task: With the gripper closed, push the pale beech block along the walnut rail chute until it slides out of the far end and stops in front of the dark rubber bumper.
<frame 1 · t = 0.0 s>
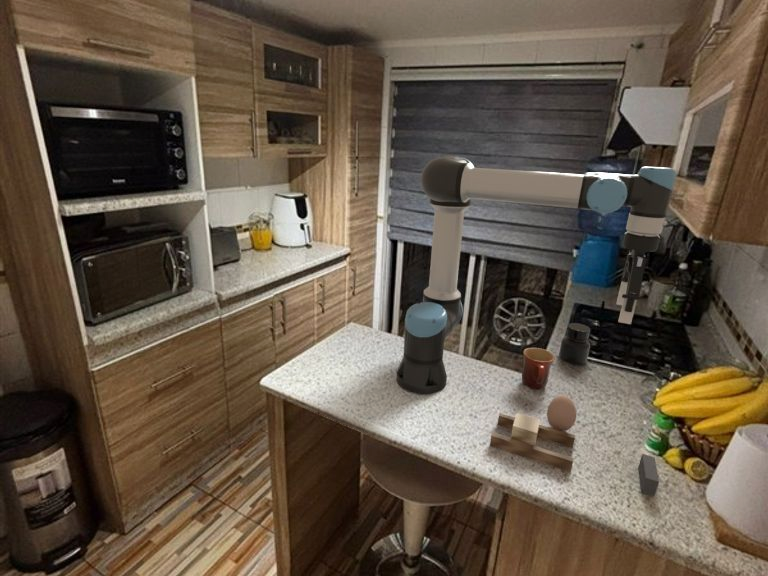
hand: (623, 313, 109), 28 cm above the counter, fingers open, 13 cm apart
egg: (558, 429, 107), on the counter
chute: (531, 445, 101), on the counter
bumper: (645, 481, 91), on the counter
block: (522, 443, 102), on the counter
mug: (534, 388, 125), on the counter
ink bottle: (572, 359, 143), on the counter
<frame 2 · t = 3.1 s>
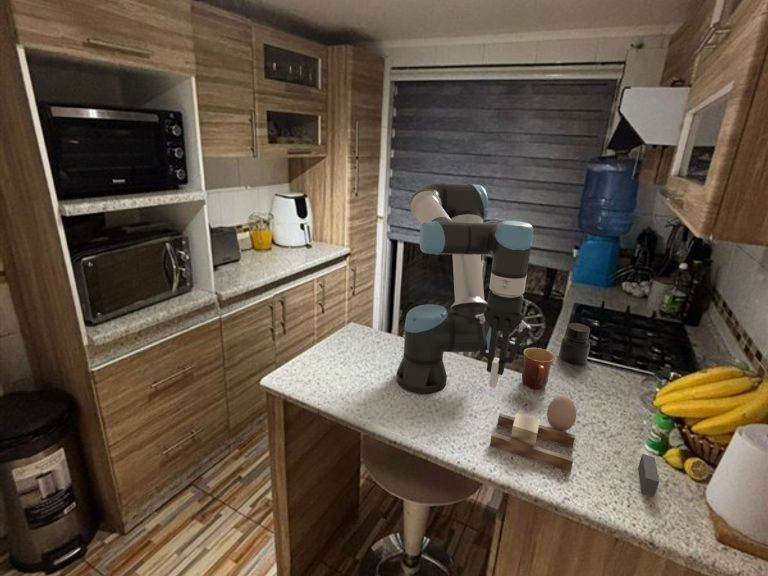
hand: (493, 384, 100), 14 cm above the counter, fingers closed
nothing on the counter moved.
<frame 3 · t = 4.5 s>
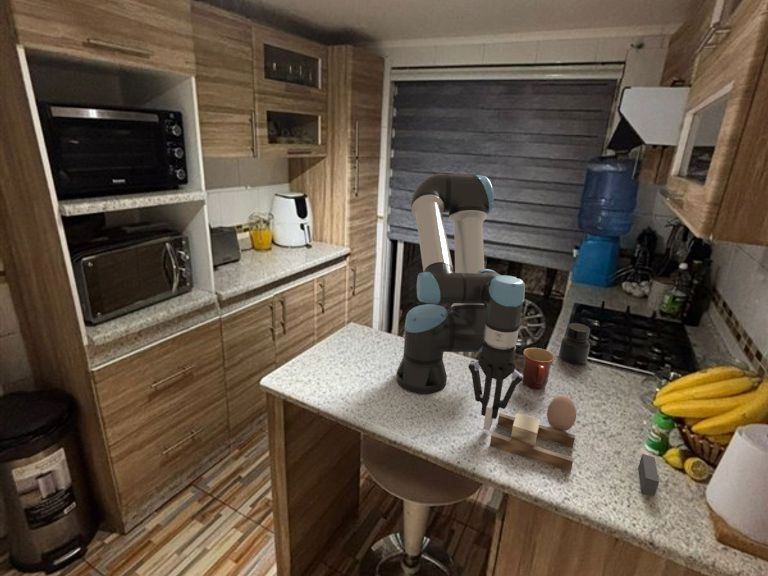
hand: (487, 426, 105), 1 cm above the counter, fingers closed
nothing on the counter moved.
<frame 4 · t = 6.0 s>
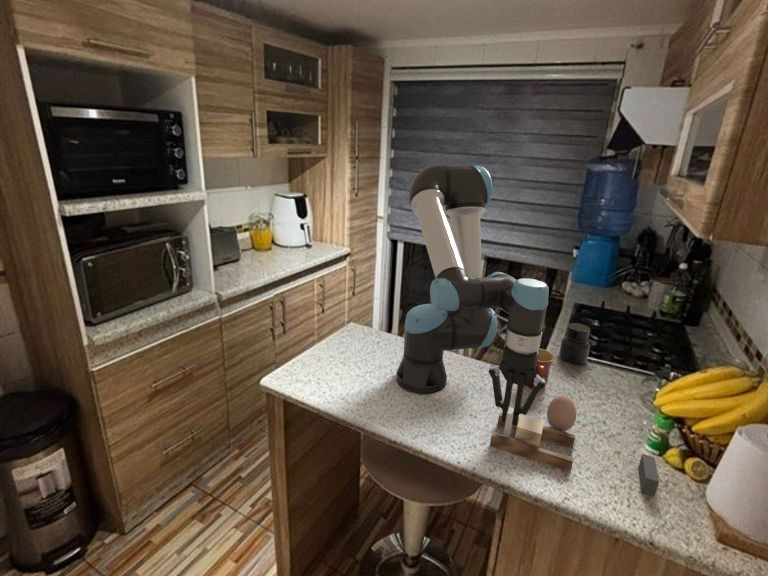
hand: (507, 433, 102), 2 cm above the counter, fingers closed
block: (526, 444, 101), on the counter, touching gripper
everything else where it was.
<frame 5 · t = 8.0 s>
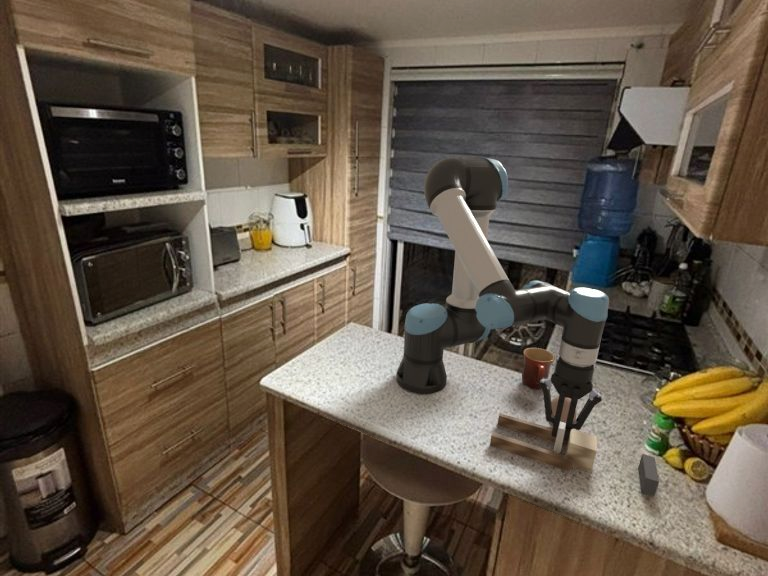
hand: (557, 448, 98), 2 cm above the counter, fingers closed
block: (578, 460, 96), on the counter, touching gripper
everything else where it was.
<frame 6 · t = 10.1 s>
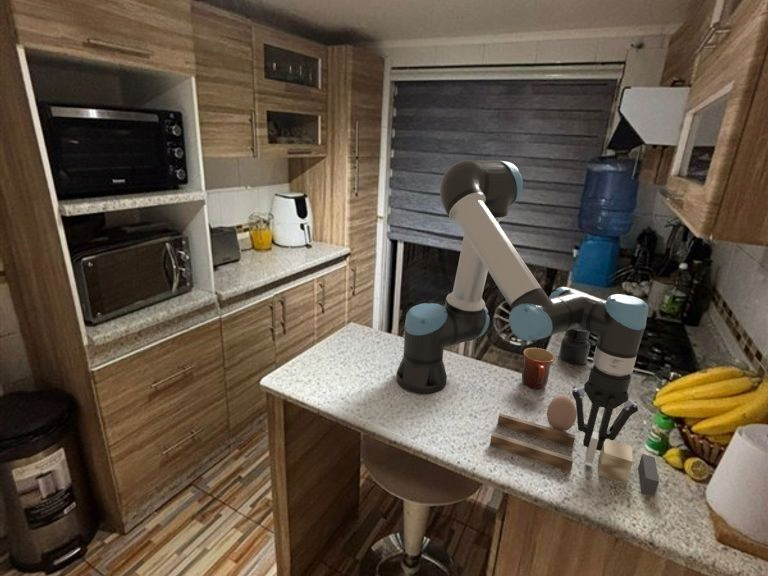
hand: (589, 458, 95), 1 cm above the counter, fingers closed
block: (611, 471, 94), on the counter, touching gripper
everything else where it was.
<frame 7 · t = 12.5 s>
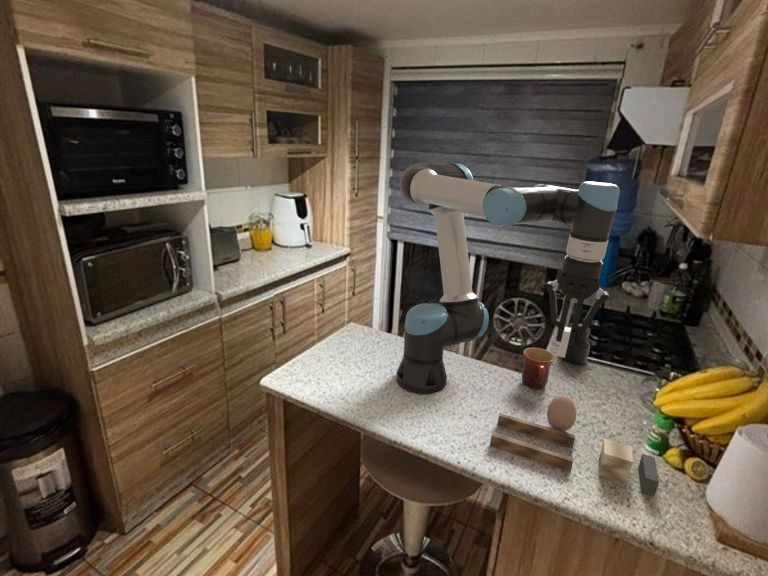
hand: (561, 354, 97), 23 cm above the counter, fingers closed
block: (612, 471, 94), on the counter
everything else where it was.
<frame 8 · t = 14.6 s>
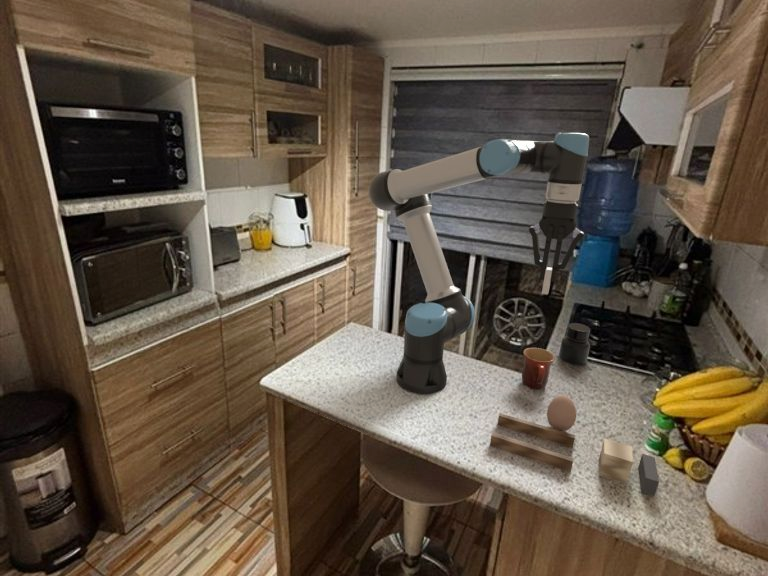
hand: (545, 292, 109), 32 cm above the counter, fingers closed
nothing on the counter moved.
at the end: block inside the target area (0.9 cm from its centre), on the counter; block tilted 0°; block touching counter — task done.
